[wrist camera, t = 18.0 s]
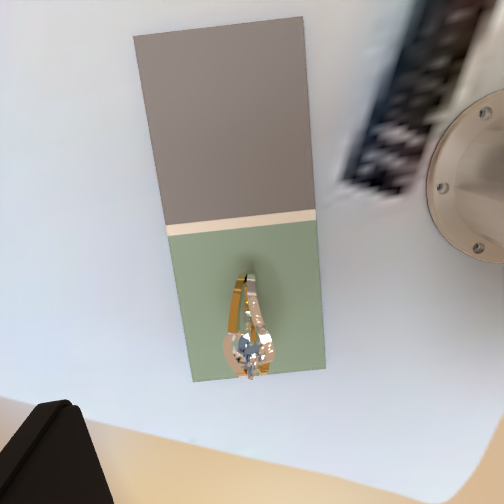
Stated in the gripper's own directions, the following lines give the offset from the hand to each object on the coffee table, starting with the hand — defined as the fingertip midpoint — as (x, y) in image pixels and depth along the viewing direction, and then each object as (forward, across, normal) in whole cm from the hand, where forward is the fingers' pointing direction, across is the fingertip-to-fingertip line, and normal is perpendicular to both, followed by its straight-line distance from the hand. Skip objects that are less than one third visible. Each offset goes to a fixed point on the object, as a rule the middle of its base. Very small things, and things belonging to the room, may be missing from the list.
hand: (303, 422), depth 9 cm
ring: (+23, +3, +7) cm, 24 cm away
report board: (+24, +2, +1) cm, 24 cm away
